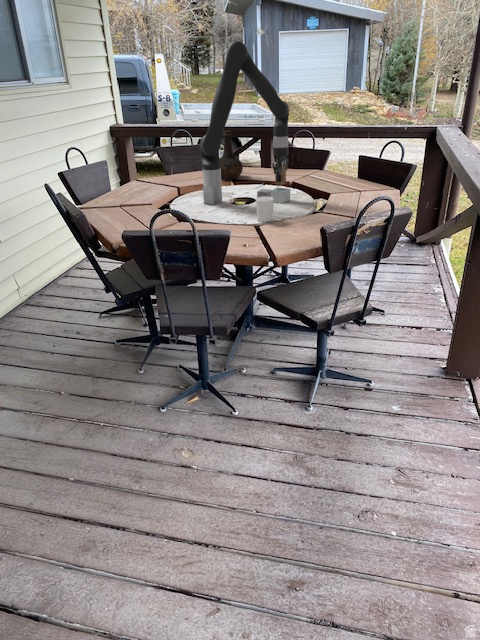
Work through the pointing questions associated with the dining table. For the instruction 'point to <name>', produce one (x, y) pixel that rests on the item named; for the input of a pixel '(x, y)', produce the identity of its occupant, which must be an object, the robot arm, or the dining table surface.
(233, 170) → the glass bottle
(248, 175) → the dining table surface
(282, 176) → the block
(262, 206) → the white cup
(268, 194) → the gray square block
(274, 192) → the white microwave oven
